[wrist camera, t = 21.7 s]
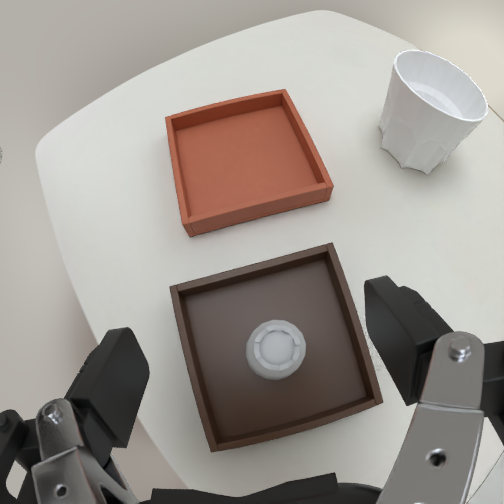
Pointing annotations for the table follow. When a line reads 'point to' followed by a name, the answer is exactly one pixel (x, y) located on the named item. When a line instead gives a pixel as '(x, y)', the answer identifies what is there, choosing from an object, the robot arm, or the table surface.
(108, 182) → the table surface
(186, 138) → the terracotta tray
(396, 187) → the table surface
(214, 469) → the table surface
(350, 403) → the walnut tray
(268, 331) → the rook chess piece
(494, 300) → the table surface
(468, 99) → the cup
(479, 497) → the white box
